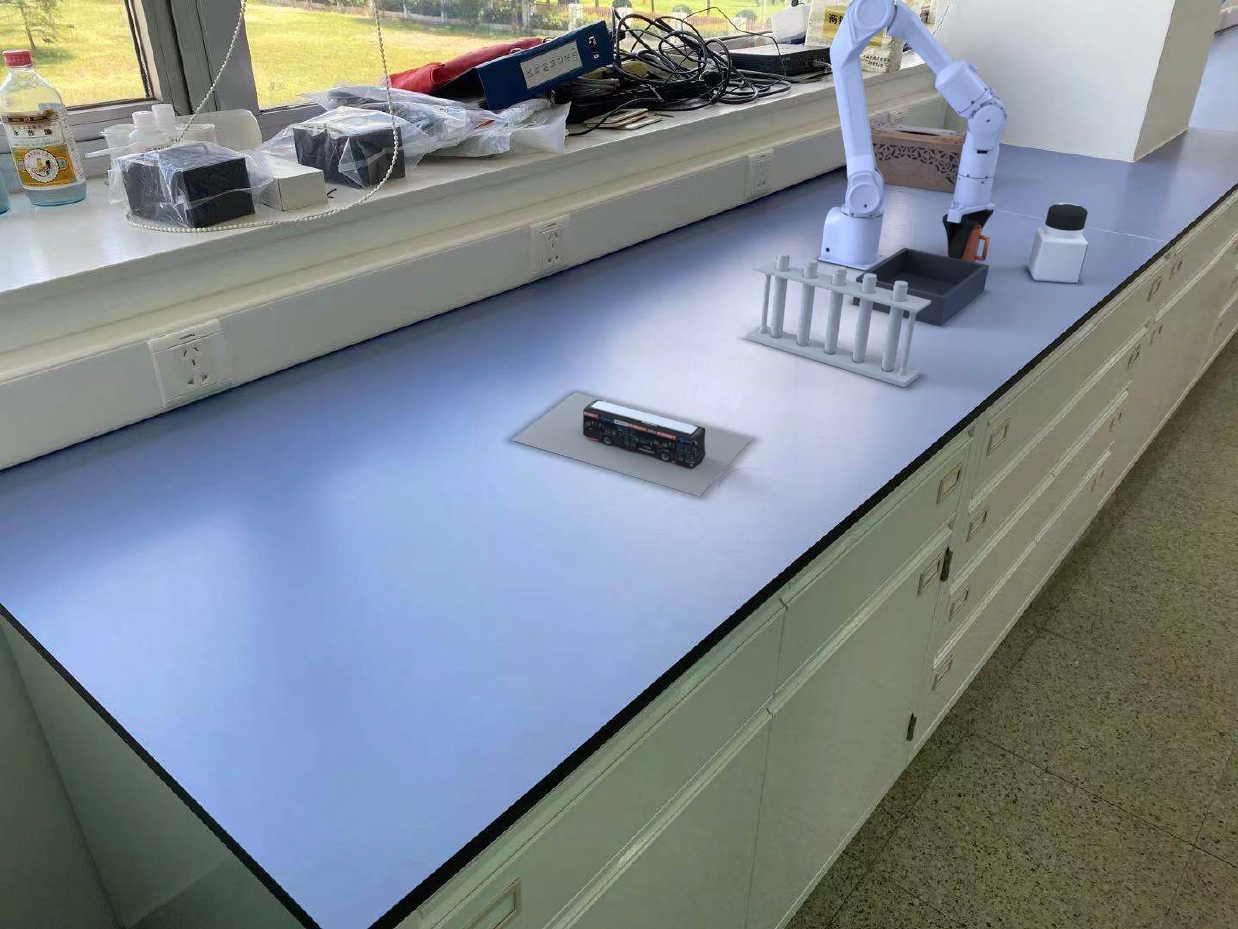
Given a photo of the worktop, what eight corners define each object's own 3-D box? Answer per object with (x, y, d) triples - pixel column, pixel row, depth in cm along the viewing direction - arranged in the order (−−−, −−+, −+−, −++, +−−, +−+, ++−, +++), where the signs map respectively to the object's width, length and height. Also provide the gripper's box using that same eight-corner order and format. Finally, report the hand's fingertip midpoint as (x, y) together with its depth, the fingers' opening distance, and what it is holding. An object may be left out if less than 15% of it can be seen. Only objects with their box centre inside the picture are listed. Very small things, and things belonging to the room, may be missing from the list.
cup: (939, 266, 167) (946, 226, 163) (950, 258, 170) (957, 219, 167) (977, 274, 163) (986, 234, 160) (988, 266, 167) (996, 226, 163)
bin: (852, 304, 153) (856, 277, 151) (900, 272, 166) (904, 247, 164) (940, 326, 146) (945, 298, 144) (983, 291, 158) (989, 264, 156)
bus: (699, 496, 105) (701, 463, 103) (511, 440, 116) (509, 409, 114) (750, 439, 116) (753, 408, 114) (575, 392, 126) (574, 363, 124)
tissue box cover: (976, 178, 219) (984, 133, 214) (959, 193, 209) (968, 146, 203) (867, 163, 231) (873, 120, 226) (846, 177, 220) (851, 132, 215)
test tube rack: (918, 376, 131) (935, 284, 124) (904, 387, 128) (920, 294, 121) (762, 330, 144) (769, 244, 138) (746, 339, 142) (753, 252, 135)
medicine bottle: (1078, 284, 161) (1096, 213, 155) (1033, 280, 163) (1050, 210, 156) (1070, 269, 167) (1087, 201, 161) (1027, 266, 169) (1042, 198, 162)
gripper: (984, 187, 152) (968, 269, 159) (1014, 169, 162) (998, 247, 169) (941, 180, 156) (927, 261, 163) (973, 162, 166) (958, 239, 173)
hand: (960, 253), depth 166 cm, fingers closed on cup, 5 cm apart
